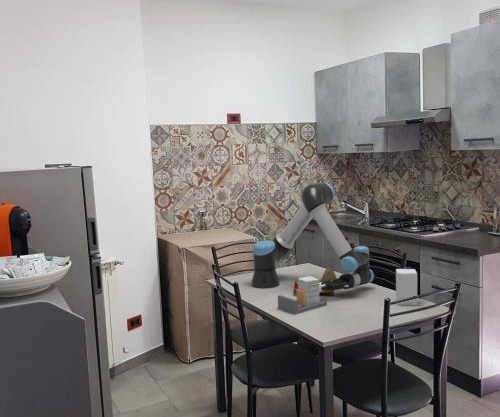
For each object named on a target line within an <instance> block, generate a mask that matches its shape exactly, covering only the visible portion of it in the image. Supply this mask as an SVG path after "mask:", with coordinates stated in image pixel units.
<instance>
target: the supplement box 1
mask: <svg viewBox="0 0 500 417" xmlns="http://www.w3.org/2000/svg"><path fill="white" fill-rule="evenodd" d="M319 283H320V279H319V278H316V277H313V276H311V275H310V276H304V277H298V278H297V289H301V290H304V291H306V306H310V305H313V304H317V303H320V292H319V285H320V284H319Z"/></svg>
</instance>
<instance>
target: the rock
mask: <svg viewBox="0 0 500 417" xmlns="http://www.w3.org/2000/svg"><path fill="white" fill-rule="evenodd" d="M329 279H332V280H335V279H337V276H336V273H335V272H334V270H333V268H332V267H331V266H329V265H328V266H327V267H326V268H325V270H324V272H323V275H322V276H321V278H320V279H319V283H320V282H324V281H327V280H329Z"/></svg>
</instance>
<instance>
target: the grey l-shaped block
mask: <svg viewBox="0 0 500 417" xmlns="http://www.w3.org/2000/svg"><path fill="white" fill-rule="evenodd" d="M327 304H328V303H327V301H319V303H317V304H313V305H310V306H306V307H303V308H299V309H298V300H297V299H296V298H295V299H294V298H291V297H289V296H284V295H281V294H279V295H277V308H278V310H282V311H285V312H288V313H290V314H294V315H299V314H301V313H304V312H308V311H311V310H314V309H317V308H318V309H319V308H322V307H325V306H327Z"/></svg>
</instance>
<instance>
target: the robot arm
mask: <svg viewBox="0 0 500 417" xmlns="http://www.w3.org/2000/svg"><path fill="white" fill-rule="evenodd" d="M335 196H336V194H335V189H334V187H333V186H332V185H331V184H330V183H328V182H317V183H311V184H308V185H306V186H305V187H304V188H303V189H302V193H301V201H302V205H301V206H300V207H299V208H298V210H297V211H296V213H295V214H293V216H292V218H291V219H290V221H289V222H288V223H287V224H286V226H284V228H283V230H282V231H281V232H280V233H276V234H275V236H274V237H273V239H272V240H267V239H265V240H259V241H257V242H255V243H254V244H253V250H252V251H253V252H252V253H253V270H254V271H253V273H252V274H253V276H252V279H251V286H252V287H253V288H259V289H269V288H270V289H271V288H276V287H279V285H280V278H279V276H278V274H277V271H276V270H277V268H276V263H277V262H280V261H284V260H285V259H287V258H288V257H289V256H290V255H291V254H292V250H293V248H294V242H295V241H296V240H297V239H298V238H299V236H300V234H301V233H302V232H304V231H303V230H305V228H306V227H307V226H308V224H309V223H310V222H311V220H312V219H314V220H315V222H316V223H317V225H318V227H319V228H320V231H321V232H322V233H323V235H324V236H325V238H326V239H327V241H328V242H329V244H330V245H331V247H332V248H333V250H334V252H335V253H336V255H337V257H338V258H339V259H340V267H341V269H342V271H344V272H345V273H342V274H340V275H339V277H338V278H337V277H336V278H337V279H335V280H332V279H329V280H327V281H324V282H322V283H321V284H319V293H321V292H325V291H331V292H333V291H337V290H338V291H340V290H349V289H354V288H355V287H360V286H363V285H368V284H369V283H372V282H373V280H374V278H375V273H374V271H373V270H372V269H370V250H369V249H370V248H369V247H368V246H364V245H358V246H355V247H354V248H352V246H350V244H349V242H348V241H347V240H346V237H344V235H343V233H342V231H341V229H339V227H338V225H337V224H336V222H335V221H334V219H333V218H332V216H331V214H330V213H329V211H328V210H327V208H326V206H327V205H329V204H331V203H333V201H334V200H335Z"/></svg>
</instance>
